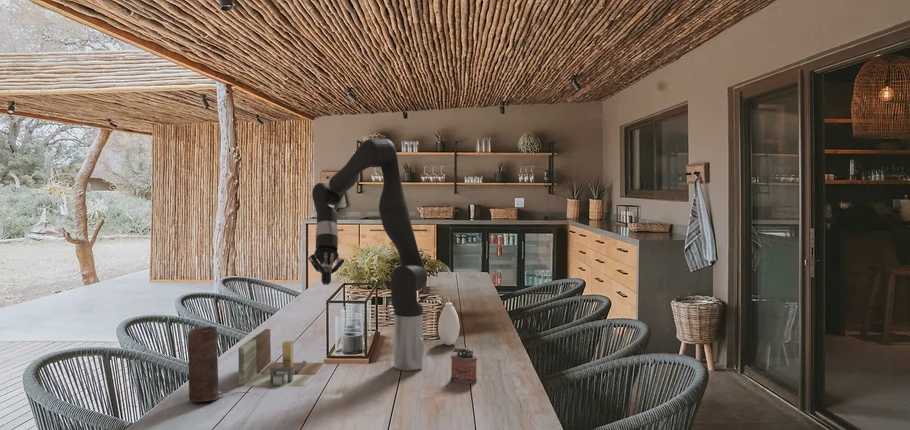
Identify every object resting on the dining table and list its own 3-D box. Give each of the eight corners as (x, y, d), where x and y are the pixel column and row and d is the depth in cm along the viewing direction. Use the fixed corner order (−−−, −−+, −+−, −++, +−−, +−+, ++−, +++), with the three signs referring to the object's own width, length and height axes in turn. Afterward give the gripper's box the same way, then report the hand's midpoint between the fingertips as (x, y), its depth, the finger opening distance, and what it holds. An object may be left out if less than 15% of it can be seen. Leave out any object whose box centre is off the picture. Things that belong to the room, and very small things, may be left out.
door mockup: (324, 366, 187) (324, 329, 187) (305, 390, 165) (304, 348, 165) (266, 365, 188) (265, 329, 187) (239, 389, 166) (238, 348, 165)
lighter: (478, 380, 174) (478, 347, 174) (475, 384, 171) (475, 350, 171) (452, 377, 177) (453, 345, 177) (449, 381, 174) (449, 348, 173)
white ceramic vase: (435, 346, 212) (435, 297, 211) (442, 340, 219) (442, 293, 218) (455, 348, 209) (455, 298, 208) (462, 342, 217) (462, 294, 216)
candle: (207, 407, 152) (206, 331, 152) (182, 405, 154) (181, 330, 153) (224, 396, 160) (223, 325, 159) (200, 394, 161) (199, 323, 160)
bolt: (293, 372, 176) (293, 340, 176) (281, 384, 165) (281, 351, 165) (285, 372, 177) (285, 340, 176) (273, 384, 166) (272, 351, 165)
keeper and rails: (307, 364, 185) (307, 351, 185) (290, 382, 168) (290, 368, 168) (288, 364, 185) (288, 351, 185) (270, 382, 169) (270, 368, 168)
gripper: (313, 229, 197) (312, 278, 190) (348, 236, 204) (349, 283, 198) (304, 237, 202) (303, 285, 195) (339, 242, 210) (339, 289, 203)
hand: (326, 284), depth 196 cm, fingers closed
